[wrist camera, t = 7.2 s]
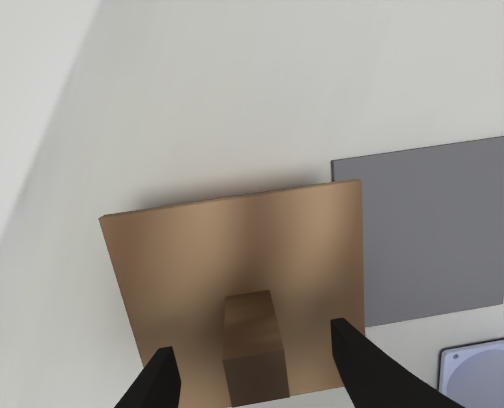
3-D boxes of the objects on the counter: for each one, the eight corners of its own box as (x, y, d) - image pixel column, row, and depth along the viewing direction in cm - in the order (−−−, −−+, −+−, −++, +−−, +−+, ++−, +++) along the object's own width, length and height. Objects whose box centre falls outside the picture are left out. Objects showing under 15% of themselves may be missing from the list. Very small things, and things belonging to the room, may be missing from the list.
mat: (521, 133, 18) (527, 133, 17) (497, 301, 21) (502, 303, 21) (331, 160, 17) (333, 161, 17) (339, 327, 20) (341, 331, 20)
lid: (356, 178, 13) (421, 197, 8) (360, 373, 16) (410, 462, 12) (104, 214, 12) (30, 256, 8) (162, 409, 15) (133, 516, 11)
